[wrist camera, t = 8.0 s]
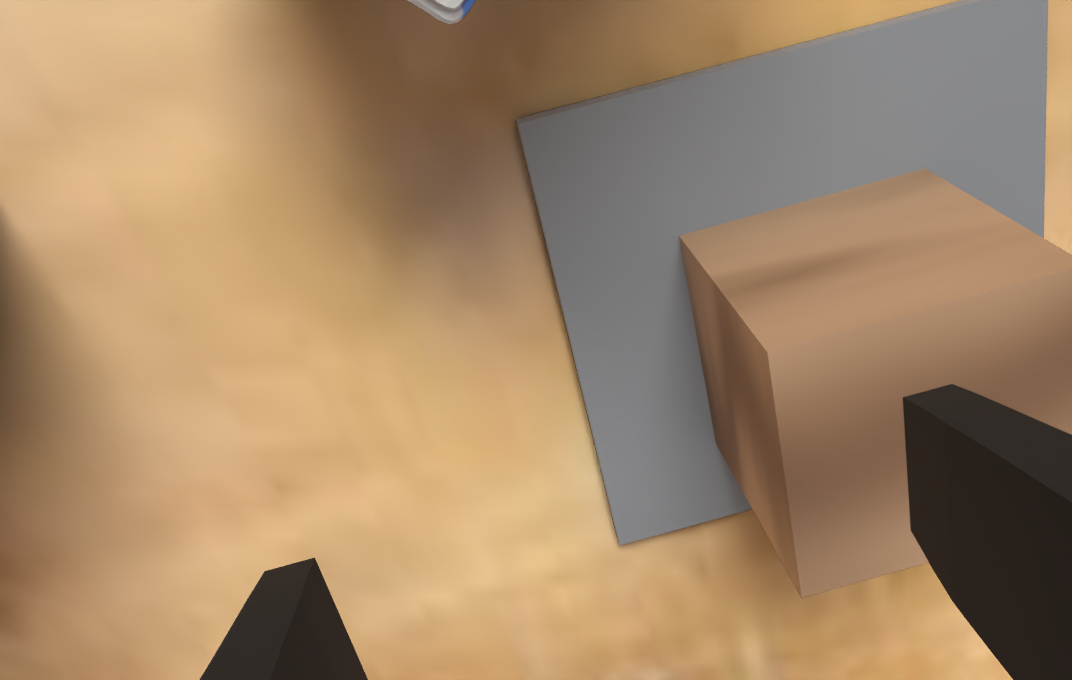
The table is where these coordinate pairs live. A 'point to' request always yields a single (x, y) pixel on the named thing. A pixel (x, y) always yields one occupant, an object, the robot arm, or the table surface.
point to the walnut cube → (866, 354)
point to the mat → (756, 205)
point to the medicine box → (445, 9)
